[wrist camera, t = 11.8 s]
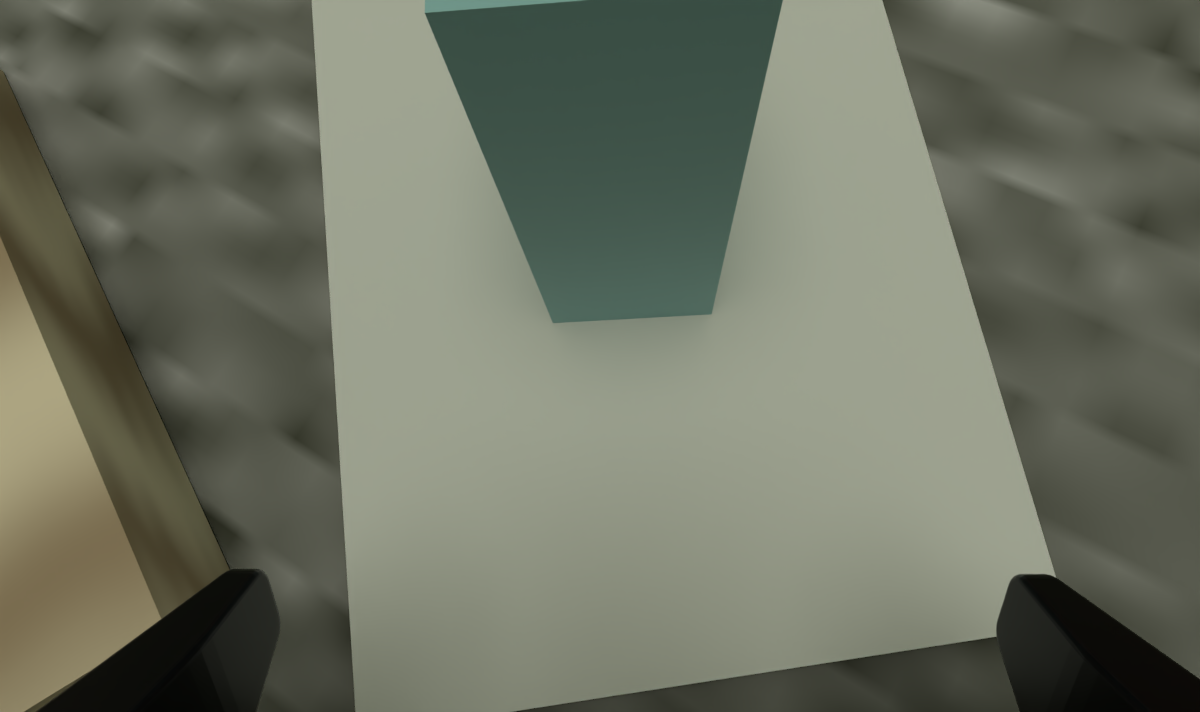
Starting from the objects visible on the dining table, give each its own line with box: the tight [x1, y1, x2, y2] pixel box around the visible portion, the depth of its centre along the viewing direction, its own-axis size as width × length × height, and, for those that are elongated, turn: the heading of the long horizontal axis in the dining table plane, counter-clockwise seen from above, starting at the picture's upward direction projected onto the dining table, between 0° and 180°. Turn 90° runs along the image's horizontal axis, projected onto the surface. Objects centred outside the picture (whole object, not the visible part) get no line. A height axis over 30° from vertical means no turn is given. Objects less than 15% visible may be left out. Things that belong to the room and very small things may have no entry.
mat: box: [312, 0, 1056, 712], centre depth 18 cm, size 20×14×1 cm
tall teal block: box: [425, 0, 783, 323], centre depth 13 cm, size 5×4×10 cm
